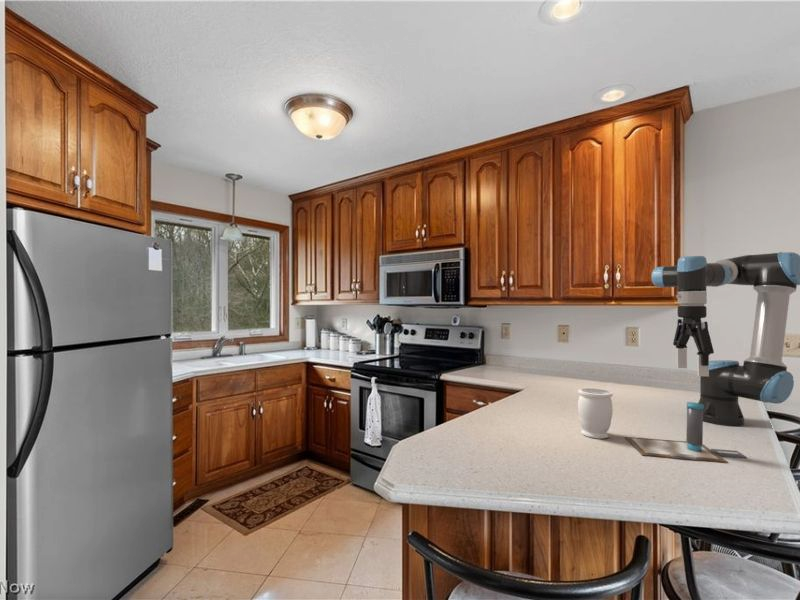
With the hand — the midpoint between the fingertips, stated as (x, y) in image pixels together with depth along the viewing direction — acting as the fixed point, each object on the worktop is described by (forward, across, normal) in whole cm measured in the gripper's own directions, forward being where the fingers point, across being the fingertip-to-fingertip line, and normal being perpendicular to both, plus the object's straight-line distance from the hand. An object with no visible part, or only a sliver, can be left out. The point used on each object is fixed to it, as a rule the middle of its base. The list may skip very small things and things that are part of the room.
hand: (691, 372), depth 131 cm
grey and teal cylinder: (+23, +6, -2) cm, 24 cm away
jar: (+23, -4, -28) cm, 37 cm away
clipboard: (+23, +6, -8) cm, 25 cm away
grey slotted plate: (+24, +6, +7) cm, 25 cm away
